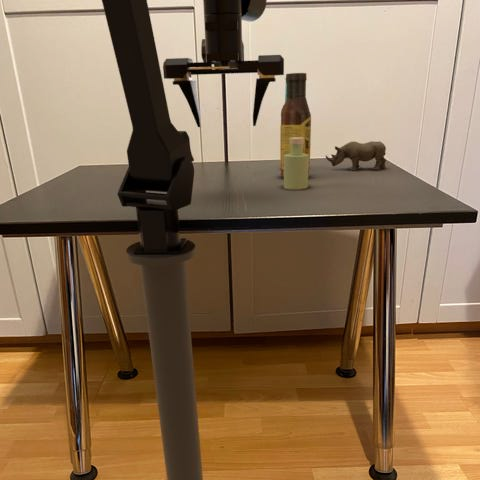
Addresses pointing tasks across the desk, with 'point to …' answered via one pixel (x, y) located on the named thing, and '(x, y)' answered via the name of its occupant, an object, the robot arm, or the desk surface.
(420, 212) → the desk surface
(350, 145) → the rhino figurine
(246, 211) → the desk surface
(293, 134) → the sauce bottle
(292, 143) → the small bottle
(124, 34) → the robot arm
